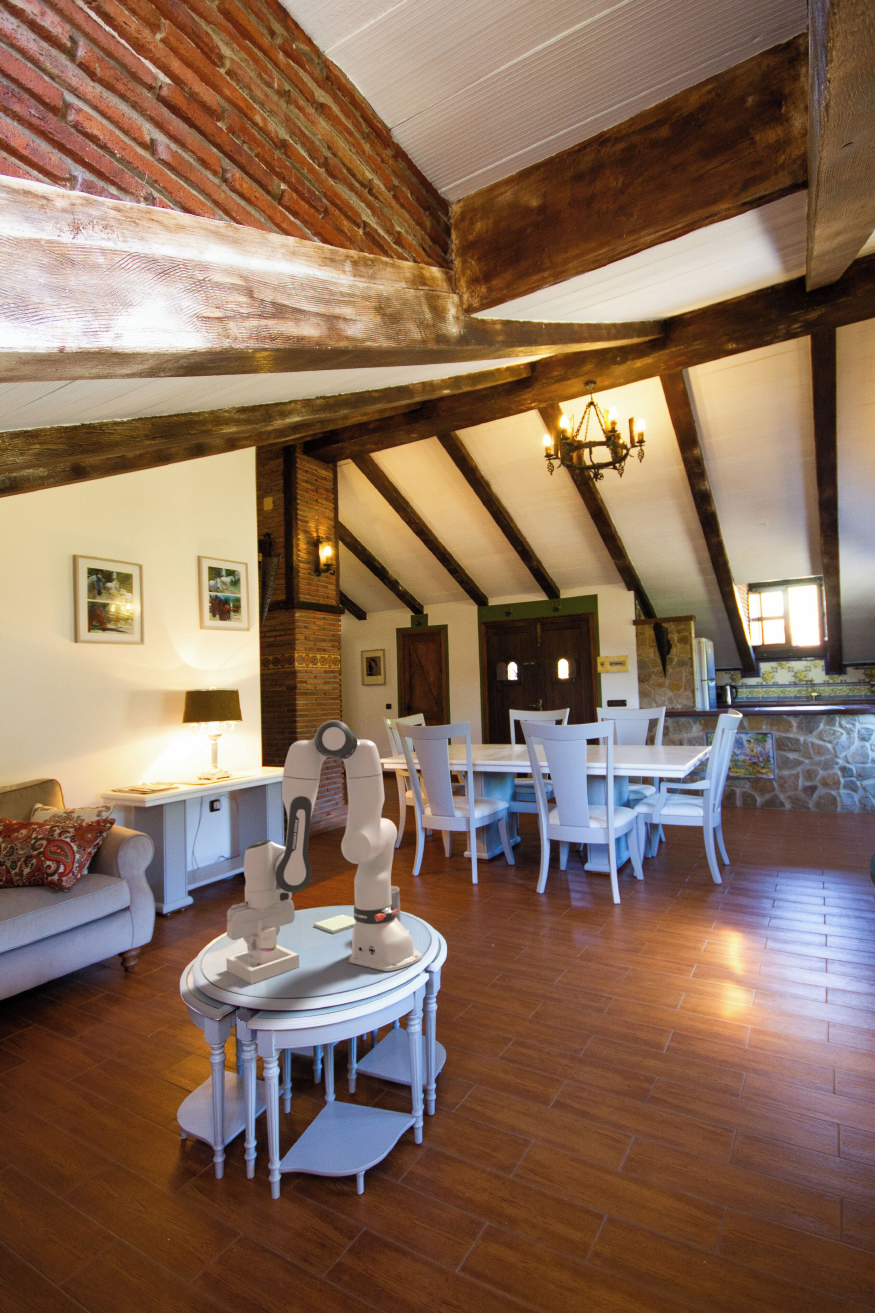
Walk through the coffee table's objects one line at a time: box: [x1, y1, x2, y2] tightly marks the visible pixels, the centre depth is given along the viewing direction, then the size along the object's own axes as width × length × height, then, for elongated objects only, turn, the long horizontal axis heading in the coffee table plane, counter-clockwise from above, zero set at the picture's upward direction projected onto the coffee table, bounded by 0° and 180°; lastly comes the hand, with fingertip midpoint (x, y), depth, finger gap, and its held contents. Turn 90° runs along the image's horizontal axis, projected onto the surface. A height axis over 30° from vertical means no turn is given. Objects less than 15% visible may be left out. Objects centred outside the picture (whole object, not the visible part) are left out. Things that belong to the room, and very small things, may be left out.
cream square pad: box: [313, 913, 355, 935], centre depth 223 cm, size 12×12×1 cm
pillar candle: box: [391, 885, 402, 924], centre depth 214 cm, size 10×10×15 cm
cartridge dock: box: [225, 943, 300, 985], centre depth 188 cm, size 15×15×4 cm
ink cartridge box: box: [247, 920, 277, 968], centre depth 189 cm, size 9×5×15 cm, turn 45°
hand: (262, 946), depth 189 cm, fingers open, 5 cm apart
